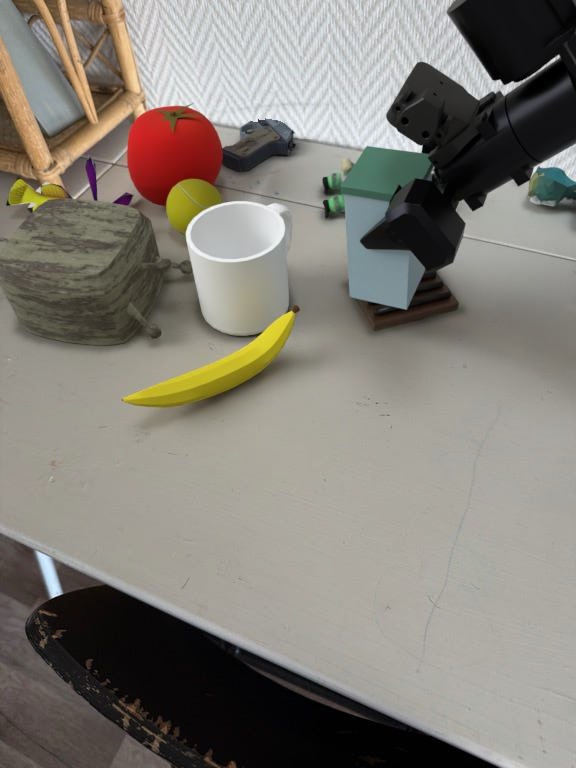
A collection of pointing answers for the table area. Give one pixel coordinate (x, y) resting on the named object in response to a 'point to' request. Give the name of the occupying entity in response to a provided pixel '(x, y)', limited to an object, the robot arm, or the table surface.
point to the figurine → (551, 186)
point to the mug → (241, 264)
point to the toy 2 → (335, 182)
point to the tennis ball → (190, 202)
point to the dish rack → (413, 304)
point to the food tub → (365, 209)
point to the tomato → (171, 151)
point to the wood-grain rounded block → (84, 272)
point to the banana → (219, 370)
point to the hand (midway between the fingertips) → (375, 222)
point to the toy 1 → (55, 191)
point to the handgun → (258, 144)
